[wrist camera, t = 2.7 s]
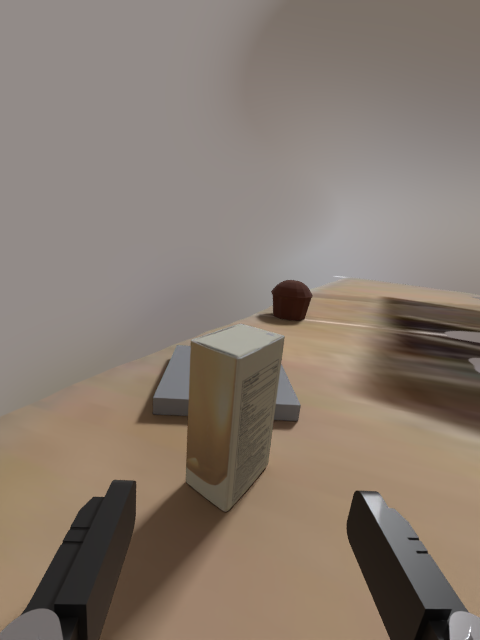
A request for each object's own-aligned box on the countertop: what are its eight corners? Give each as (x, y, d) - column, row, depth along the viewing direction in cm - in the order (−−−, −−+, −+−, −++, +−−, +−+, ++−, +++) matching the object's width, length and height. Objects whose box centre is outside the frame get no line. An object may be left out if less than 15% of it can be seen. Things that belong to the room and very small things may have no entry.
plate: (274, 362, 47) (275, 351, 47) (297, 421, 32) (300, 405, 32) (176, 356, 46) (177, 345, 46) (152, 414, 31) (153, 397, 30)
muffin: (305, 324, 74) (311, 285, 71) (264, 317, 77) (268, 280, 75) (311, 315, 85) (316, 281, 82) (274, 309, 88) (278, 276, 86)
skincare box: (230, 443, 28) (242, 321, 24) (269, 466, 25) (288, 334, 22) (180, 484, 22) (187, 337, 19) (223, 518, 20) (239, 355, 17)
